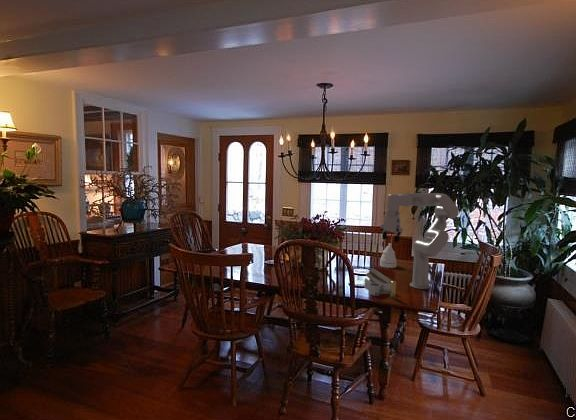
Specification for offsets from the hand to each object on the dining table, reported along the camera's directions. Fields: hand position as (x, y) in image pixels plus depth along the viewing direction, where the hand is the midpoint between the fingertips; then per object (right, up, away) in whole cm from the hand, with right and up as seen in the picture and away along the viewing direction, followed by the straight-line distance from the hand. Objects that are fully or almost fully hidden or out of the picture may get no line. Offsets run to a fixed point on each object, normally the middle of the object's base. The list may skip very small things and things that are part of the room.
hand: (390, 240), depth 234 cm
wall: (-4, -31, +15) cm, 35 cm away
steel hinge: (-8, -32, +1) cm, 33 cm away
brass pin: (-2, -34, -11) cm, 35 cm away
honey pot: (+17, -26, +67) cm, 74 cm away
